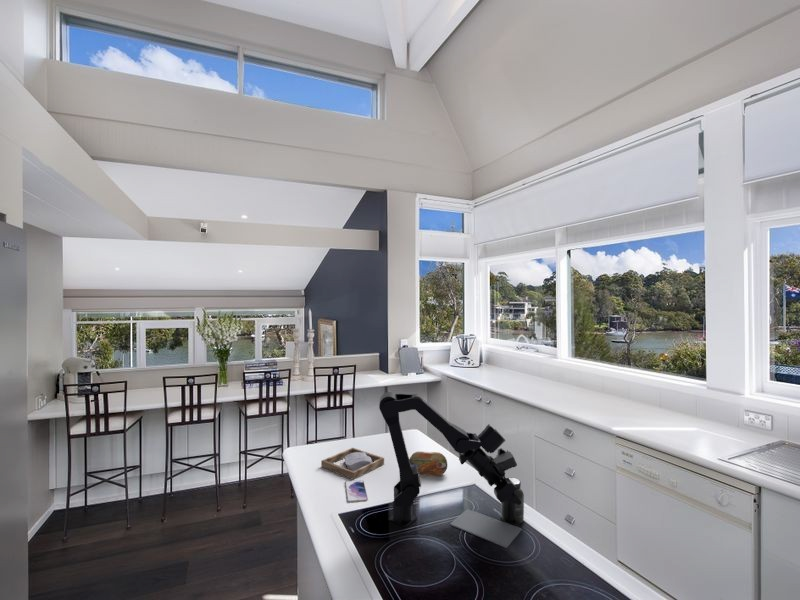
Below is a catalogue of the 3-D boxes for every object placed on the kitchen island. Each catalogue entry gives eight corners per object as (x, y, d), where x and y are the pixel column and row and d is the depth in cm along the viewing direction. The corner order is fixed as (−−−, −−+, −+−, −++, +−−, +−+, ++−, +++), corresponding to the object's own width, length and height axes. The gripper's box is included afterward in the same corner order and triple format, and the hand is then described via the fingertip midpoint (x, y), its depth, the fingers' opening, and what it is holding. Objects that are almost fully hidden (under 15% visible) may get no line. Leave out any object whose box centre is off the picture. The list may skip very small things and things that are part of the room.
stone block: (351, 477, 157) (374, 468, 161) (348, 466, 157) (372, 457, 161) (342, 467, 168) (365, 458, 172) (340, 456, 168) (363, 447, 172)
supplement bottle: (523, 515, 128) (523, 477, 128) (523, 526, 121) (524, 487, 121) (501, 511, 130) (501, 474, 130) (500, 523, 123) (501, 484, 123)
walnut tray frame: (353, 479, 152) (353, 472, 152) (321, 466, 163) (321, 460, 163) (384, 464, 166) (384, 458, 166) (352, 453, 177) (352, 447, 177)
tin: (408, 474, 157) (408, 452, 157) (409, 470, 160) (409, 449, 160) (447, 476, 155) (447, 455, 155) (447, 473, 158) (447, 451, 158)
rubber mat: (506, 548, 111) (506, 546, 111) (450, 525, 122) (450, 523, 122) (521, 530, 120) (521, 528, 120) (467, 509, 131) (467, 508, 131)
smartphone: (363, 479, 151) (368, 499, 136) (363, 482, 151) (368, 502, 136) (344, 481, 149) (347, 501, 134) (344, 483, 149) (347, 503, 134)
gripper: (509, 456, 116) (546, 494, 116) (492, 434, 135) (525, 467, 135) (481, 483, 116) (519, 521, 116) (469, 457, 134) (501, 490, 135)
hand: (516, 497), depth 126 cm, fingers closed on supplement bottle, 7 cm apart
